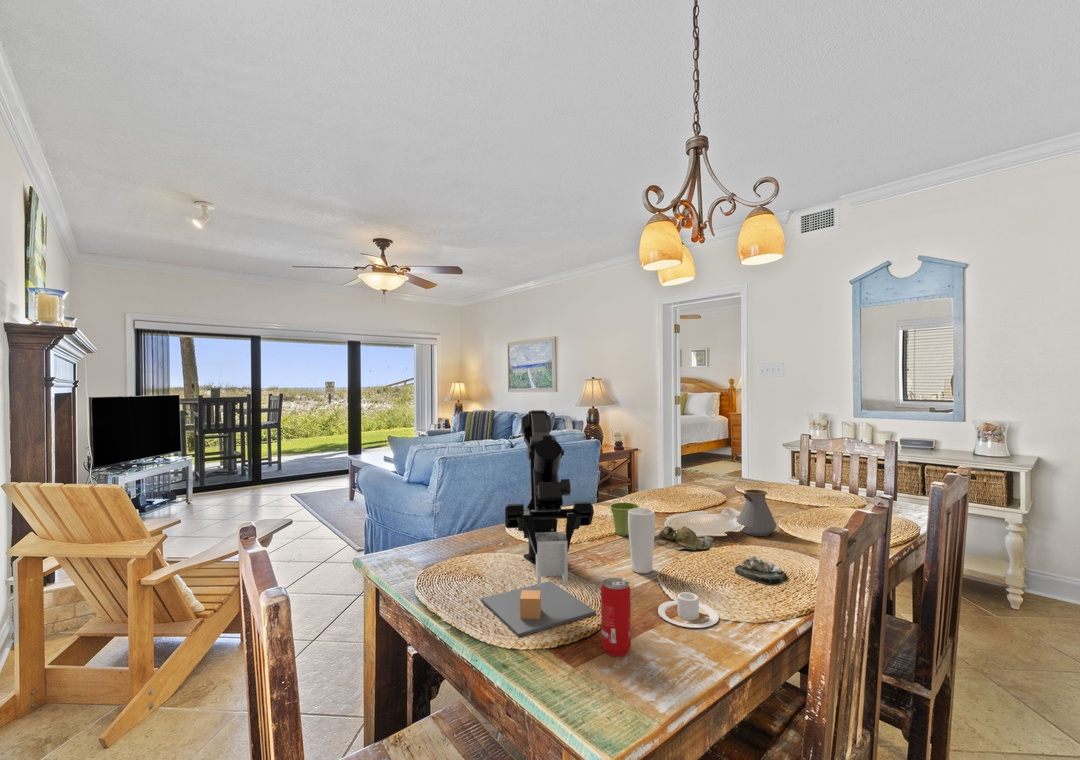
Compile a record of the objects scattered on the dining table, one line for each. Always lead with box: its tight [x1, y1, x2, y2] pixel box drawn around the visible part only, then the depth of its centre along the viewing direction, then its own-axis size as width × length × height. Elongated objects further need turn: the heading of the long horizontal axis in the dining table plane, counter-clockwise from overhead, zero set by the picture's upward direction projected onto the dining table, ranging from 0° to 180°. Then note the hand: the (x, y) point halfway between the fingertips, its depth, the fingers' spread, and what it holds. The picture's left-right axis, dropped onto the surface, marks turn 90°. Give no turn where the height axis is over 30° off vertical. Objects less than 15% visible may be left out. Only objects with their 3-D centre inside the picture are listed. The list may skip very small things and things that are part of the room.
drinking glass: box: [628, 507, 656, 574], centre depth 126 cm, size 7×7×15 cm
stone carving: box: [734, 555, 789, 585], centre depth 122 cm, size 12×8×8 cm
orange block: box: [520, 590, 541, 619], centre depth 102 cm, size 4×4×4 cm
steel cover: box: [535, 531, 569, 587], centre depth 102 cm, size 6×6×9 cm
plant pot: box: [609, 501, 641, 537], centre depth 157 cm, size 9×9×9 cm
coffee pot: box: [736, 489, 777, 537], centre depth 152 cm, size 21×12×15 cm, turn 145°
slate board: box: [480, 580, 597, 638], centre depth 106 cm, size 18×18×1 cm
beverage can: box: [600, 577, 632, 658], centre depth 89 cm, size 5×5×12 cm
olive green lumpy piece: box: [654, 525, 715, 551], centre depth 149 cm, size 18×18×5 cm
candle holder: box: [657, 591, 720, 629], centre depth 102 cm, size 12×12×4 cm
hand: (551, 552), depth 101 cm, fingers closed on steel cover, 6 cm apart
